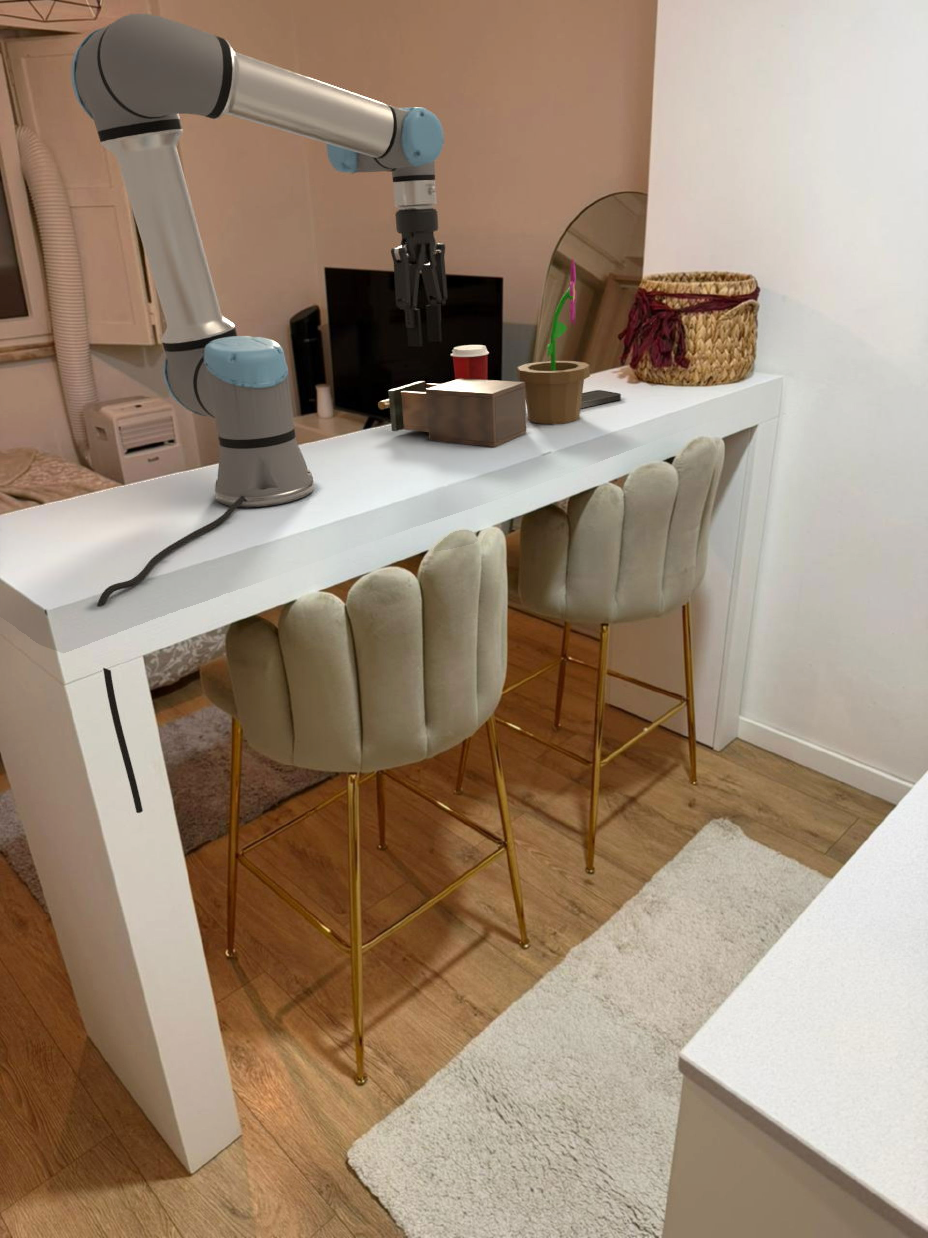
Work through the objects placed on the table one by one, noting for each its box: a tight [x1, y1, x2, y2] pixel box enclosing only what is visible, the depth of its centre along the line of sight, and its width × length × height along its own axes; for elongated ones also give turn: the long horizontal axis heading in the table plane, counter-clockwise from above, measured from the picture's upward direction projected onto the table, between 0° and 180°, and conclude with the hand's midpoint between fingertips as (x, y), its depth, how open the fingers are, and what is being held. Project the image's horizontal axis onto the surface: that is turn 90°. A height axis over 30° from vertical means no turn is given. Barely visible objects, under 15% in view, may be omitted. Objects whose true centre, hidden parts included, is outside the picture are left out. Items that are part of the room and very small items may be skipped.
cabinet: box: [425, 378, 527, 448], centre depth 166 cm, size 15×12×10 cm
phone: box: [580, 389, 622, 409], centre depth 191 cm, size 8×1×15 cm
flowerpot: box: [516, 257, 591, 425], centre depth 173 cm, size 14×14×30 cm
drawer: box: [377, 380, 441, 433], centre depth 173 cm, size 18×10×8 cm, turn 56°
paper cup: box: [450, 344, 490, 380], centre depth 182 cm, size 8×8×14 cm
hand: (425, 343), depth 167 cm, fingers open, 6 cm apart
